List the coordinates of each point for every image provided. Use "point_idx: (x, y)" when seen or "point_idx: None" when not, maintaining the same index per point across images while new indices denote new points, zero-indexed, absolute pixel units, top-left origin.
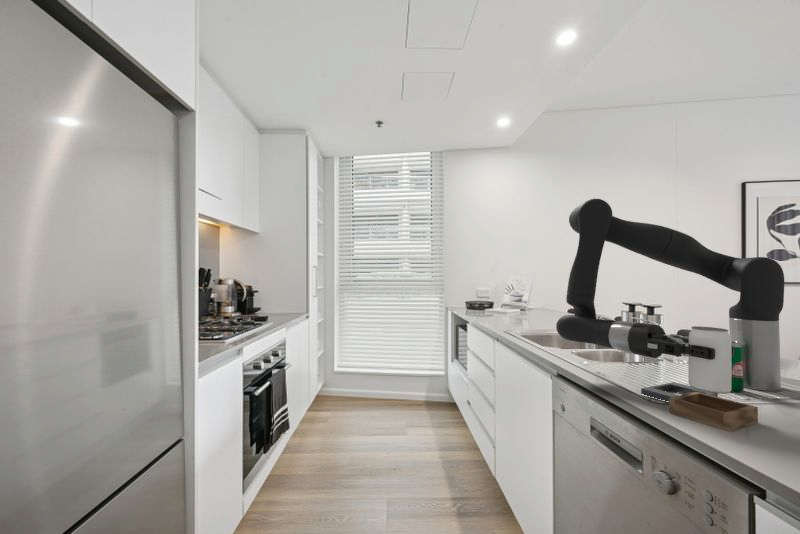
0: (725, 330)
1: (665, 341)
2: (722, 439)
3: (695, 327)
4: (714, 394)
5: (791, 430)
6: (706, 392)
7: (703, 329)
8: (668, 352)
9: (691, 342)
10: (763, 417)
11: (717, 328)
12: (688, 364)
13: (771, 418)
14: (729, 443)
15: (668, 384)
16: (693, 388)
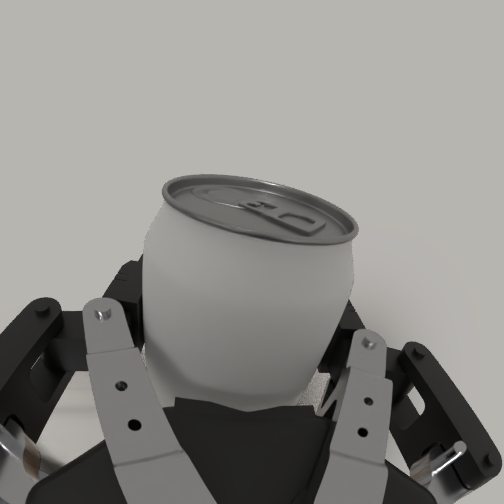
0: (200, 181)
1: (443, 407)
2: (320, 395)
3: (253, 236)
4: None
5: (141, 351)
6: None
7: (345, 213)
8: (417, 412)
9: (336, 327)
10: (88, 384)
11: (172, 185)
12: None
13: (83, 374)
14: (325, 385)
15: None
16: (2, 501)
